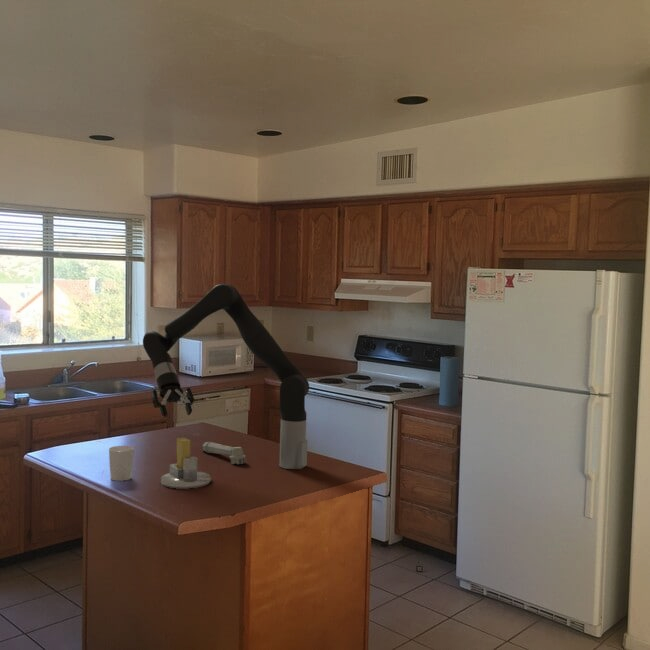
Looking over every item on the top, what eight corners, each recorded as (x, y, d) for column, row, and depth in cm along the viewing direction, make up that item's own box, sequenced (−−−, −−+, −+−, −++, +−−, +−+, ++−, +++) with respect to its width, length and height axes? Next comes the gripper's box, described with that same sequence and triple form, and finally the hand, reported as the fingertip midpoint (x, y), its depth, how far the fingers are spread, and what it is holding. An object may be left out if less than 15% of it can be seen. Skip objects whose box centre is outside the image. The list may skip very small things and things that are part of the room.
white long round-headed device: (211, 440, 272) (247, 444, 253) (212, 457, 271) (248, 462, 253) (199, 442, 268) (235, 446, 249) (200, 459, 268) (236, 464, 249)
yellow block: (176, 473, 232) (176, 438, 231) (184, 472, 233) (184, 437, 233) (181, 477, 228) (182, 441, 227) (189, 476, 229) (190, 440, 228)
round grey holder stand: (154, 478, 231) (154, 452, 230) (199, 473, 239) (200, 448, 238) (170, 491, 217) (171, 464, 216) (218, 485, 225) (219, 458, 225)
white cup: (120, 483, 224) (120, 452, 224) (103, 478, 228) (103, 448, 228) (138, 477, 231) (139, 448, 230) (122, 473, 235) (122, 444, 235)
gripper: (149, 372, 243) (160, 410, 234) (188, 370, 251) (200, 407, 242) (144, 385, 248) (155, 422, 239) (182, 383, 256) (194, 419, 247)
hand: (177, 414), depth 241 cm, fingers open, 8 cm apart
